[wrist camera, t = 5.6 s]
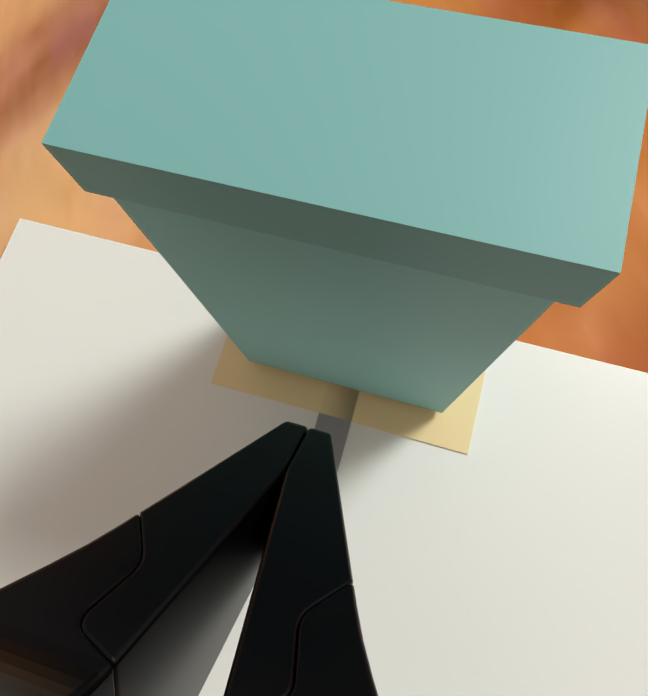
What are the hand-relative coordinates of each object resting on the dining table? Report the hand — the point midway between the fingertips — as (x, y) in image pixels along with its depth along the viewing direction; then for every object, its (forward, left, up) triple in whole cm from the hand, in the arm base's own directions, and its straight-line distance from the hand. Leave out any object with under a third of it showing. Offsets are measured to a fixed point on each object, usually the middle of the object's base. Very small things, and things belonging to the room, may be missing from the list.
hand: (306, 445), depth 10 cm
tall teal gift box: (+4, 0, -6) cm, 7 cm away
